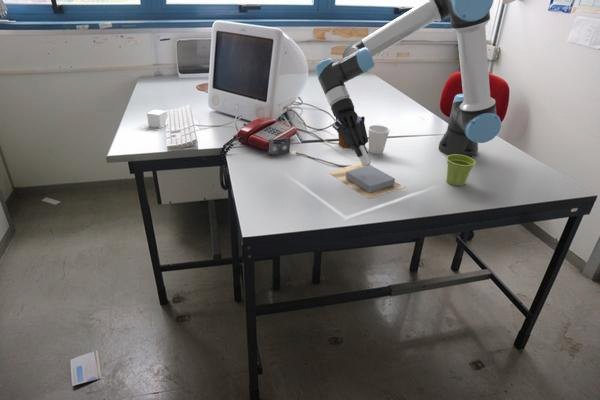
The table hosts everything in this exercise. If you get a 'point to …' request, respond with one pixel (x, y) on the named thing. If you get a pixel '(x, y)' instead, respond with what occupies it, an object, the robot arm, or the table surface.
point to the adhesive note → (157, 118)
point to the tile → (370, 178)
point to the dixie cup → (377, 138)
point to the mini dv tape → (279, 145)
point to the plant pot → (458, 168)
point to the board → (341, 176)
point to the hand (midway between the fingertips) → (366, 164)
